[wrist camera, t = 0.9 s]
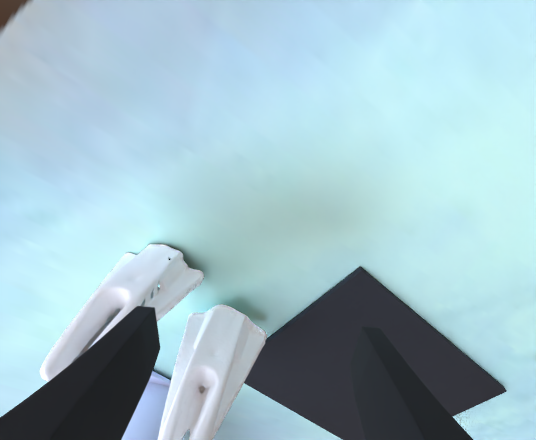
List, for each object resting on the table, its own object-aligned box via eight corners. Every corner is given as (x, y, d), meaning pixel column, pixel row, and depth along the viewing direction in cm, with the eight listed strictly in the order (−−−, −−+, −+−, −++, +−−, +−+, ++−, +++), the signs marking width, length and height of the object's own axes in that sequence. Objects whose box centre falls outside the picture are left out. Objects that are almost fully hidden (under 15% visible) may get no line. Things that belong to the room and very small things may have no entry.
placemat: (368, 449, 32) (369, 454, 31) (228, 368, 26) (227, 373, 26) (503, 386, 26) (507, 391, 26) (360, 266, 21) (361, 270, 20)
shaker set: (271, 317, 23) (265, 494, 13) (237, 341, 25) (209, 516, 15) (151, 224, 20) (22, 370, 10) (120, 258, 21) (-21, 416, 11)
